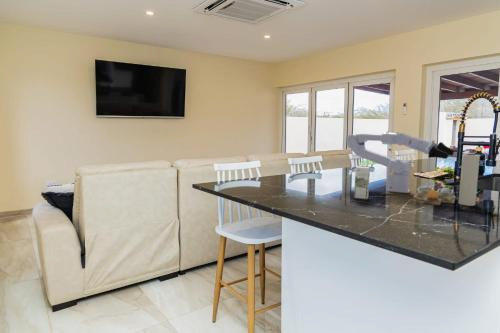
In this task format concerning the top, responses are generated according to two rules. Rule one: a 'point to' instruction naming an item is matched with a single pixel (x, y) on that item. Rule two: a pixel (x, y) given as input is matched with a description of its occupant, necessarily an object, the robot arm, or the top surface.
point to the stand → (432, 201)
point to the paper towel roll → (469, 179)
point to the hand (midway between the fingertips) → (450, 154)
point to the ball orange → (433, 194)
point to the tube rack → (441, 195)
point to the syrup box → (361, 182)
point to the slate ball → (426, 188)
